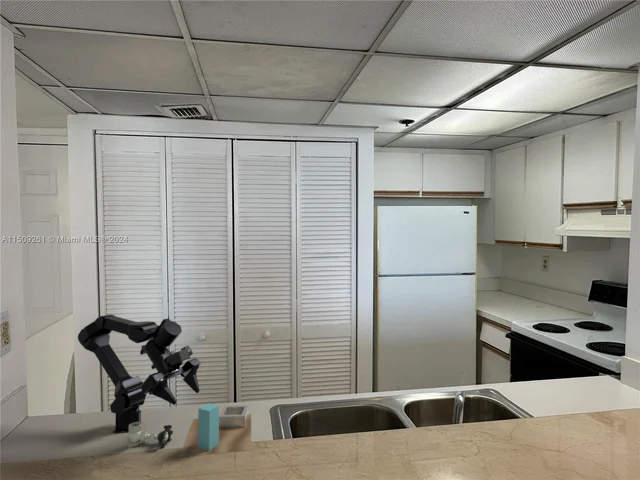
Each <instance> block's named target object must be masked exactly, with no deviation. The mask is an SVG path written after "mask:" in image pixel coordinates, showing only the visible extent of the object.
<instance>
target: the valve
mask: <svg viewBox="0 0 640 480" xmlns="http://www.w3.org/2000/svg"><path fill="white" fill-rule="evenodd" d="M142 425H143V424H142V421H141V422H134V423H131V424H129V432H127V436H126V440H127V443H128V449H131V448H132V447H136V446H138V445H140V444H142V443H147V442H148V441H156V440H157V441H158V445H161V446H159V449H161V450H162V449H164V448H165V447H166V446H167V445H169V443H170V442H171V441H172V440H173V439H172V438H171V436H172V435H173V433H174V430H171V429H172V428H173V427H172V426H173V425H172V424H168V425H166V424H165V425H163V429H164V430H163V431H160V433H159V432H158V433H156V432H155V433H152V432H151V433H150V431H149V430H144V431H143V430H142Z"/></svg>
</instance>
